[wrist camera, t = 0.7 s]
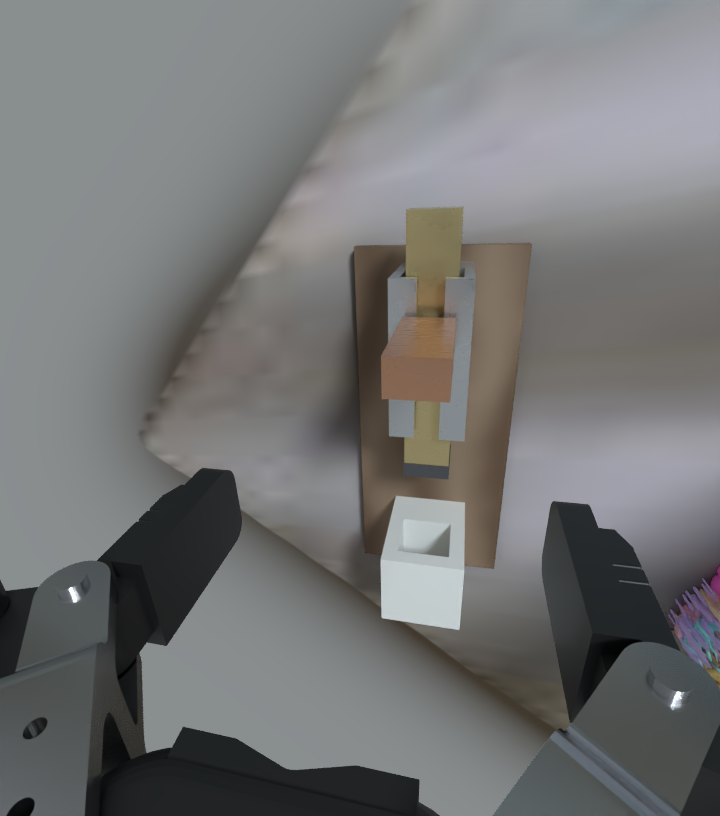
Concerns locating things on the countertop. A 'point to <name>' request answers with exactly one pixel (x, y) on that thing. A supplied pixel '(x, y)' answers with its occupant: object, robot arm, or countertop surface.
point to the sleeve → (462, 308)
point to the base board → (486, 404)
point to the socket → (424, 562)
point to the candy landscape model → (701, 626)
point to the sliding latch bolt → (426, 338)
